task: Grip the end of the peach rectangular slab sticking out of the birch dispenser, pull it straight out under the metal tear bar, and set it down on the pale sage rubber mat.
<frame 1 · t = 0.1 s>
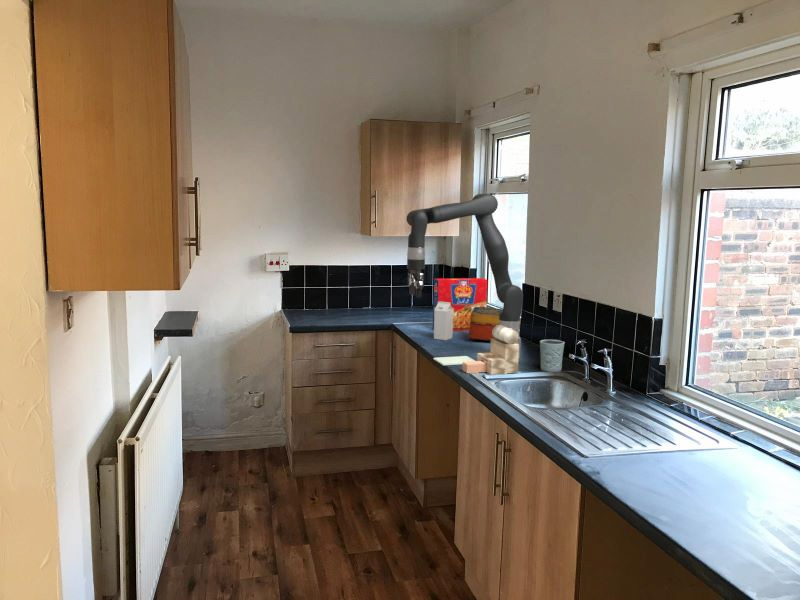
hand: (415, 296, 287), 29 cm above the table, tool pointing down, fingers open, 8 cm apart
milk carton: (443, 339, 345), on the table
decorative box: (489, 340, 344), on the table
mat: (455, 361, 296), on the table
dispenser: (496, 370, 281), on the table
pasta box: (459, 329, 371), on the table
peach rectangular slab: (479, 372, 279), on the table
grey green plant pot: (550, 369, 284), on the table
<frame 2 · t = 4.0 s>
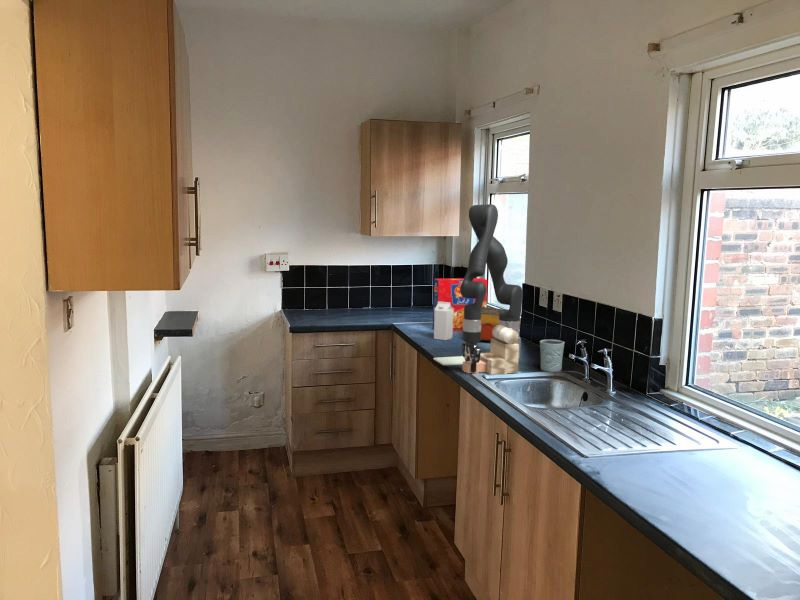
hand: (470, 370, 277), 1 cm above the table, tool pointing down, fingers closed on peach rectangular slab, 5 cm apart
peach rectangular slab: (479, 371, 279), on the table, touching gripper
everything else where it was.
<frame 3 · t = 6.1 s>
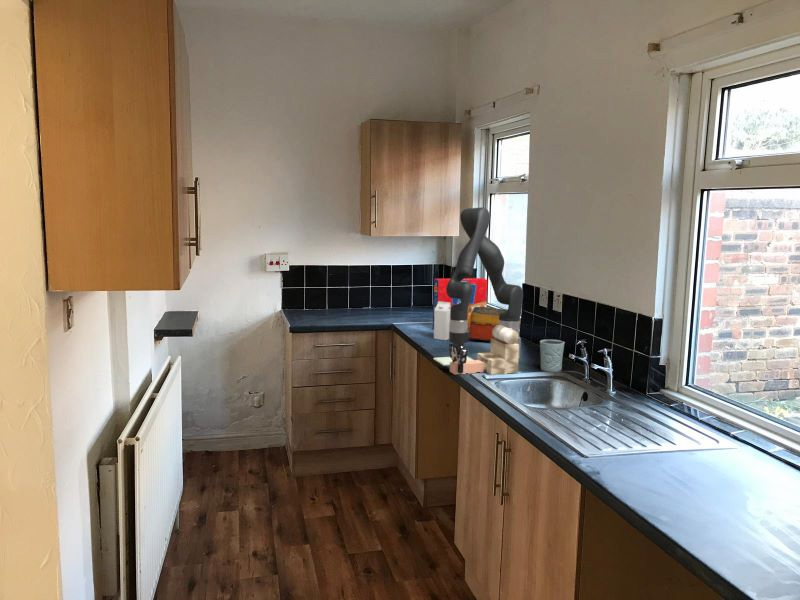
hand: (457, 371, 276), 1 cm above the table, tool pointing down, fingers closed on peach rectangular slab, 5 cm apart
peach rectangular slab: (466, 371, 277), on the table, touching gripper
everything else where it was.
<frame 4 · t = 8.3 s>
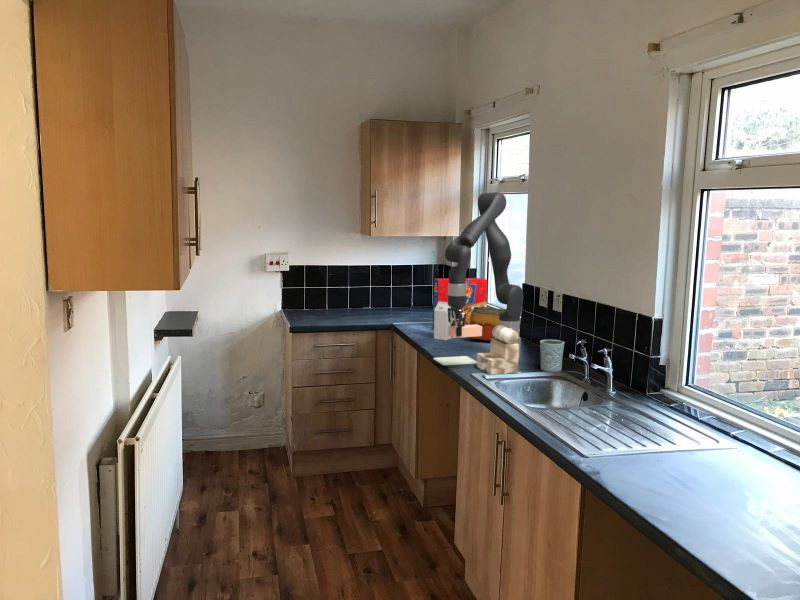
hand: (456, 334, 278), 15 cm above the table, tool pointing down, fingers closed on peach rectangular slab, 5 cm apart
peach rectangular slab: (465, 335, 279), point 14 cm above the table, touching gripper
everything else where it was.
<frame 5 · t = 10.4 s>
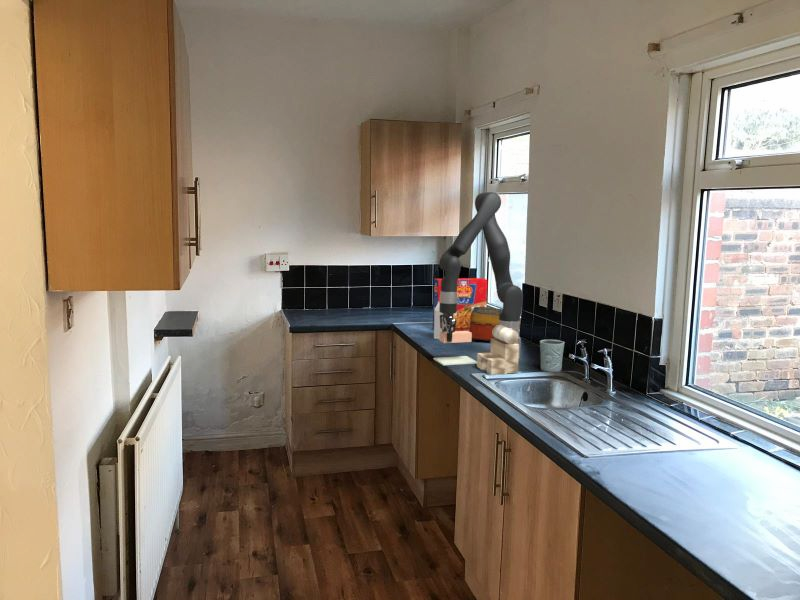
hand: (446, 340, 293), 10 cm above the table, tool pointing down, fingers closed on peach rectangular slab, 5 cm apart
peach rectangular slab: (455, 341, 295), point 9 cm above the table, touching gripper
everything else where it was.
when the fingers open (3 cm above the table, at t = 12.4 s): peach rectangular slab drops 1 cm, resting on mat.
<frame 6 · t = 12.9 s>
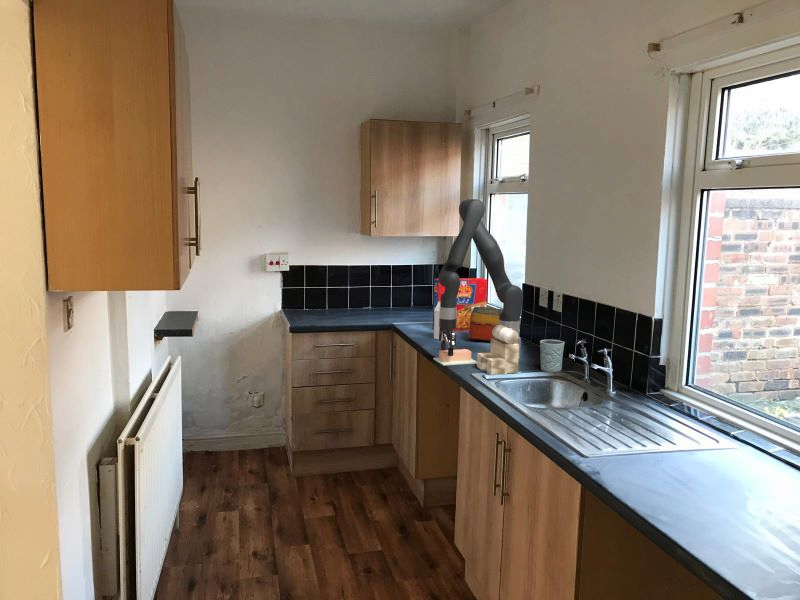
hand: (446, 353, 294), 3 cm above the table, tool pointing down, fingers open, 8 cm apart
peach rectangular slab: (455, 359, 296), point 1 cm above the table, touching mat
everything else where it was.
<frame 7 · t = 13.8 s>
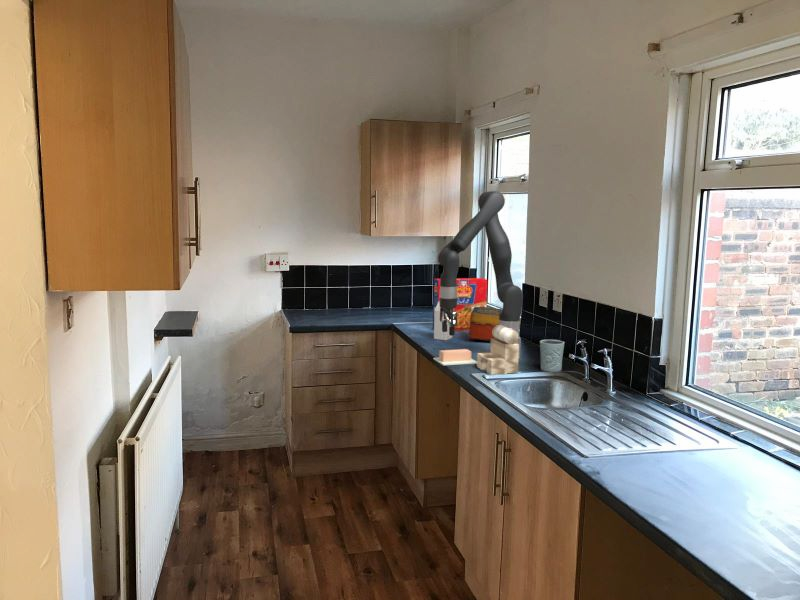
hand: (448, 333, 293), 13 cm above the table, tool pointing down, fingers open, 8 cm apart
nothing on the table moved.
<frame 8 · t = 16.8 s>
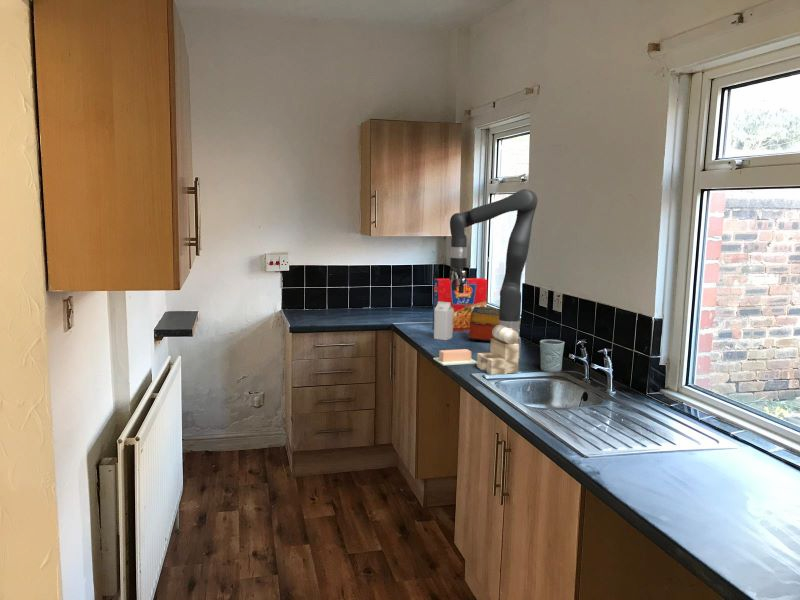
hand: (457, 291, 312), 28 cm above the table, tool pointing down, fingers open, 8 cm apart
nothing on the table moved.
at the end: peach rectangular slab inside the target area on the mat (0.1 cm from its centre), point 0.6 cm above the mat's base; the gripper is holding nothing; peach rectangular slab tilted 0° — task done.
